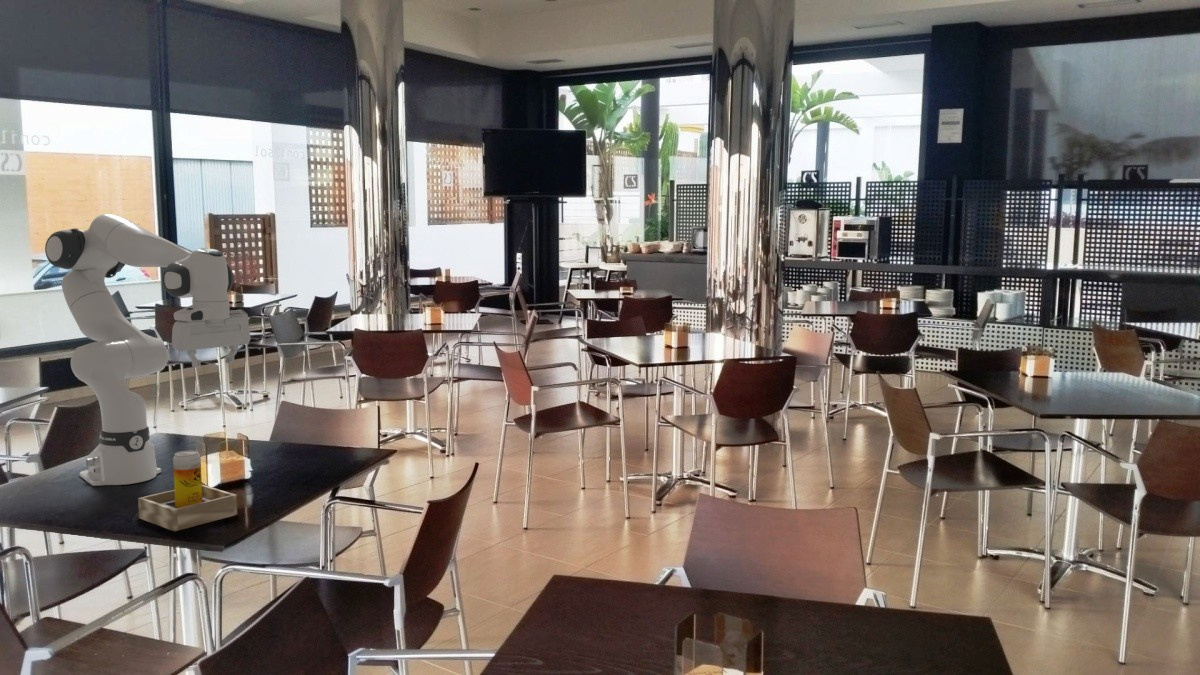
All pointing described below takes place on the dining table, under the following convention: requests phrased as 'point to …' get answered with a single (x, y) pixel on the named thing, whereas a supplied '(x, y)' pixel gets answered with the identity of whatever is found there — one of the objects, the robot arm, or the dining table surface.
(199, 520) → the crate
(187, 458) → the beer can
